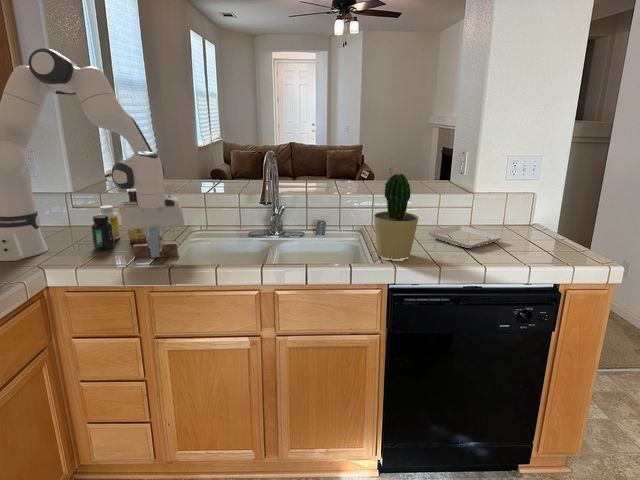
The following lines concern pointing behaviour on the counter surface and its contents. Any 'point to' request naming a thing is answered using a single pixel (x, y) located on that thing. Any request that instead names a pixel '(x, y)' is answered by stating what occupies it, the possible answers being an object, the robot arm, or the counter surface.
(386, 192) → the potted cactus
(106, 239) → the supplement bottle
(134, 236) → the sauce bottle
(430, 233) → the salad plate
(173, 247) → the notched block
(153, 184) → the robot arm
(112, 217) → the supplement bottle
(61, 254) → the counter surface
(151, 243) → the blue gray rectangular block
